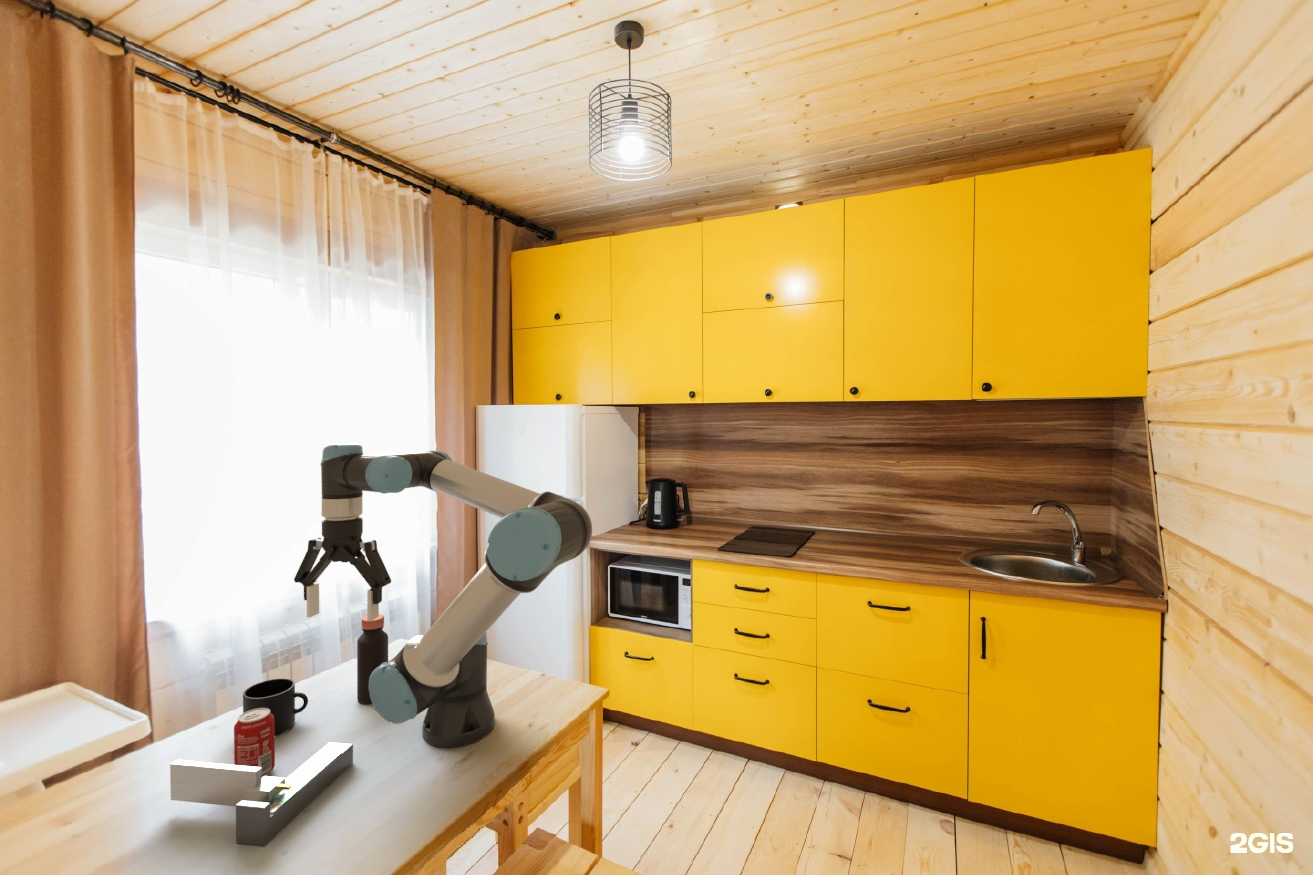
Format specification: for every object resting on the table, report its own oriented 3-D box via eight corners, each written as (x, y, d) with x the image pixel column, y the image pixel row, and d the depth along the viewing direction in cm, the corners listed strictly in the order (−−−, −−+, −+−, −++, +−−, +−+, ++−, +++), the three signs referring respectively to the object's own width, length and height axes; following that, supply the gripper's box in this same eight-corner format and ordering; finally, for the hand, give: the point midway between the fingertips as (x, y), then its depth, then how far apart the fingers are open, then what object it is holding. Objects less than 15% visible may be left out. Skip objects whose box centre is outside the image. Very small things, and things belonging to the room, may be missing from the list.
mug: (304, 732, 123) (304, 691, 123) (238, 744, 118) (237, 702, 118) (311, 711, 132) (311, 673, 132) (249, 721, 127) (248, 682, 127)
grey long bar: (352, 763, 113) (352, 732, 112) (264, 846, 91) (264, 807, 90) (329, 761, 113) (329, 730, 113) (236, 843, 91) (235, 804, 91)
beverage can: (268, 761, 113) (268, 702, 112) (279, 774, 109) (279, 713, 108) (230, 776, 108) (229, 715, 108) (240, 790, 104) (239, 727, 103)
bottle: (353, 697, 139) (353, 616, 138) (383, 688, 144) (383, 610, 143) (361, 707, 134) (361, 624, 133) (392, 698, 138) (392, 617, 138)
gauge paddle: (298, 801, 98) (297, 765, 98) (282, 816, 94) (281, 779, 94) (183, 790, 100) (183, 755, 100) (163, 804, 97) (163, 767, 96)
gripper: (408, 516, 121) (408, 613, 122) (300, 512, 124) (301, 607, 124) (388, 522, 113) (388, 626, 114) (273, 518, 116) (274, 619, 117)
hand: (342, 617), depth 119 cm, fingers open, 13 cm apart
